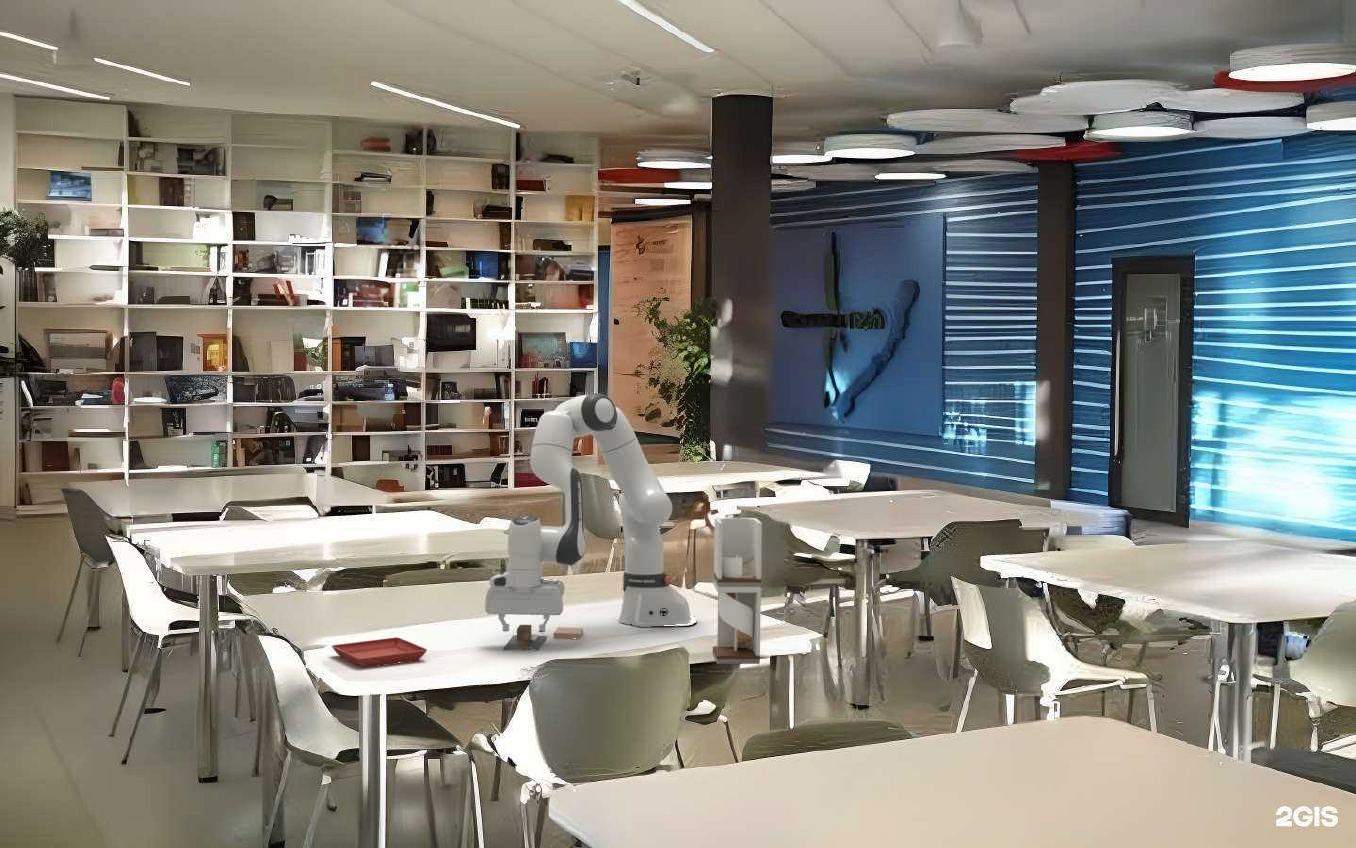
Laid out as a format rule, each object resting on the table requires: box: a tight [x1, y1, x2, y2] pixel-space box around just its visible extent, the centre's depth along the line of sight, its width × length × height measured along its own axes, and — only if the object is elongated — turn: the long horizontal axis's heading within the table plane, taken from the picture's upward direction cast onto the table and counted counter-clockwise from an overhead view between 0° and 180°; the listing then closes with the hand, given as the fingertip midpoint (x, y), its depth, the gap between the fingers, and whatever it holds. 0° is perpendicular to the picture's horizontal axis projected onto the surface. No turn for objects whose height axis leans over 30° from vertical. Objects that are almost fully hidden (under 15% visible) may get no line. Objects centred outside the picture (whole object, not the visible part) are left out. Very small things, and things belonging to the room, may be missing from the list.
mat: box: [503, 634, 548, 651], centre depth 361 cm, size 9×16×1 cm, turn 178°
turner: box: [516, 624, 540, 647], centre depth 361 cm, size 5×13×4 cm, turn 179°
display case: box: [712, 517, 763, 665], centre depth 345 cm, size 11×11×35 cm
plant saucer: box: [331, 637, 428, 668], centre depth 341 cm, size 18×18×3 cm
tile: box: [552, 626, 584, 640], centre depth 372 cm, size 7×2×8 cm
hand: (524, 631), depth 358 cm, fingers open, 8 cm apart
